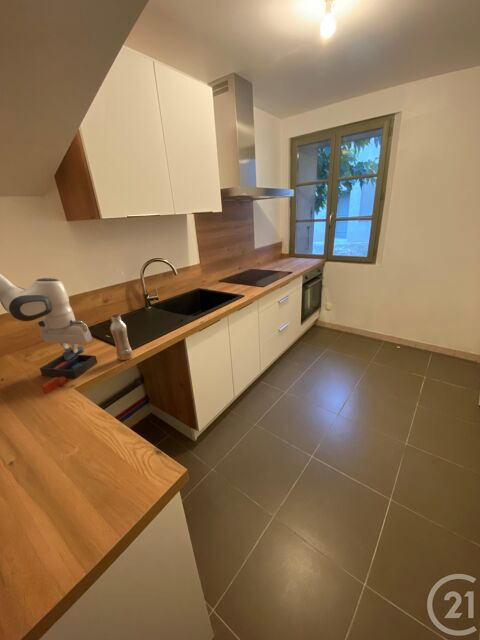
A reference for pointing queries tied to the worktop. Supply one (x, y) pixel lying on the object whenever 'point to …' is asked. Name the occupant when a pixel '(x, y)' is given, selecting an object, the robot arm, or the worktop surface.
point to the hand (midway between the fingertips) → (72, 352)
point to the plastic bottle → (120, 338)
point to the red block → (53, 384)
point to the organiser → (69, 366)
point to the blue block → (69, 354)
